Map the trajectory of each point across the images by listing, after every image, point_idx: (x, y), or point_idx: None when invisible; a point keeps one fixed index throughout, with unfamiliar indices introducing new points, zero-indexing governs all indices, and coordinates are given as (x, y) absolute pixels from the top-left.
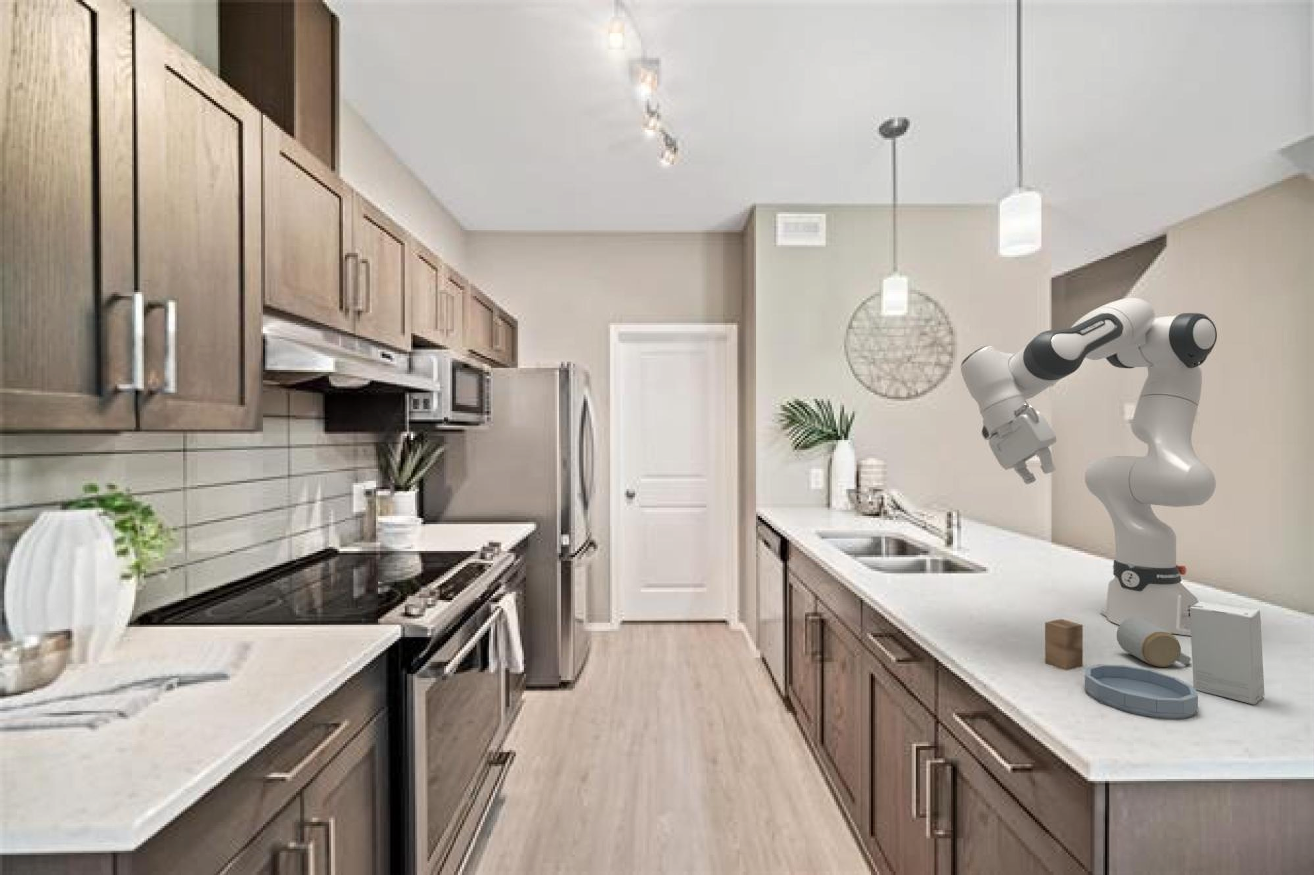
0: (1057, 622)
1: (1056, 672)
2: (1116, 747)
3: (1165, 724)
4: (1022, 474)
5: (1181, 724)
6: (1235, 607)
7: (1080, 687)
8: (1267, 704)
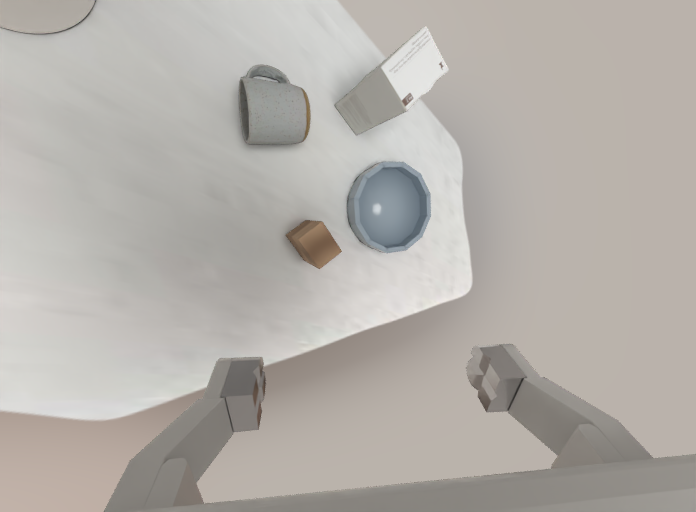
0: (316, 252)
1: None
2: (460, 269)
3: None
4: (220, 442)
5: None
6: (416, 50)
7: (367, 249)
8: None
